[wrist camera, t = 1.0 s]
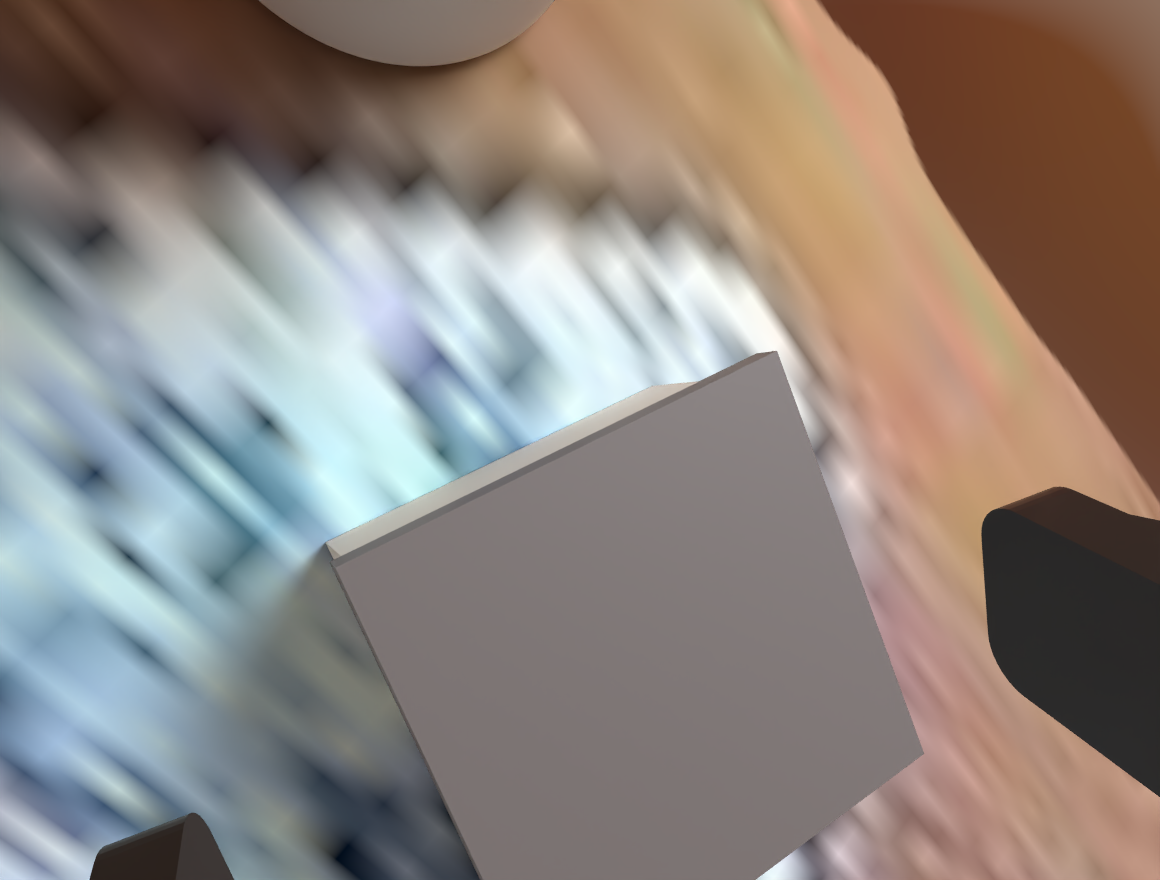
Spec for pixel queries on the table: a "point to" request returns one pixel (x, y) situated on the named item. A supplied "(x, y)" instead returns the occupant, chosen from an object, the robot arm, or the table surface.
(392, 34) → the cylinder vase
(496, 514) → the podium
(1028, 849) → the table surface
